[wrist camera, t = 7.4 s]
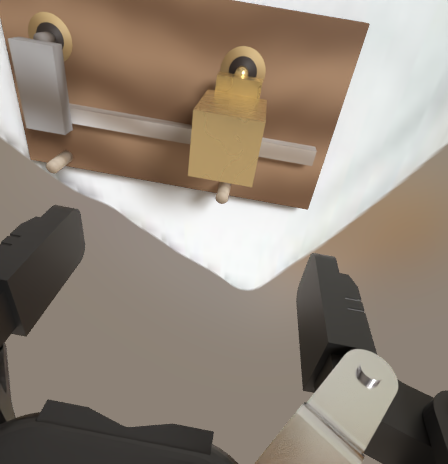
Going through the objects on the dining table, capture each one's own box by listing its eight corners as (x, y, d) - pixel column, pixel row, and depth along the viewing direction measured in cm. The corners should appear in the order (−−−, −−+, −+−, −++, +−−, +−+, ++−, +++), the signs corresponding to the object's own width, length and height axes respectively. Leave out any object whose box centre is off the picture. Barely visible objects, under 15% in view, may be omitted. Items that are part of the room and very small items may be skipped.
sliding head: (214, 60, 23) (195, 81, 17) (271, 70, 23) (271, 94, 17) (205, 149, 27) (186, 190, 21) (254, 157, 27) (249, 201, 21)
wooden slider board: (2, -39, 23) (-42, -45, 20) (364, 22, 23) (379, 26, 19) (40, 153, 31) (13, 171, 28) (306, 201, 31) (310, 225, 27)
